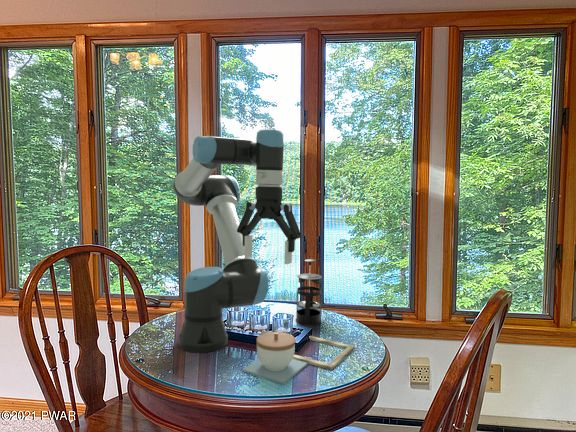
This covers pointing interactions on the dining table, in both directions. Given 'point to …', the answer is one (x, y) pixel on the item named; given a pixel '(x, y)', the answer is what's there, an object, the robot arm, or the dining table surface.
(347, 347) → the birch frame
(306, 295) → the french press
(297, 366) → the rubber mat
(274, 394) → the dining table surface
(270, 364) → the lidded jar
